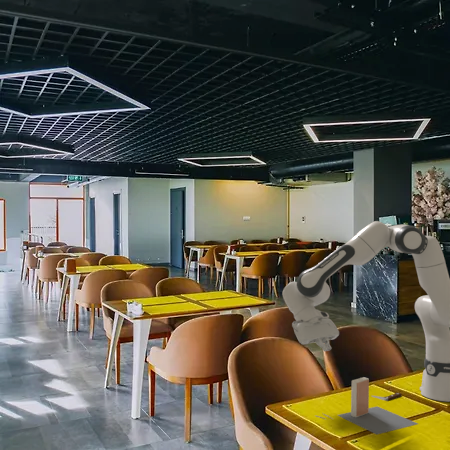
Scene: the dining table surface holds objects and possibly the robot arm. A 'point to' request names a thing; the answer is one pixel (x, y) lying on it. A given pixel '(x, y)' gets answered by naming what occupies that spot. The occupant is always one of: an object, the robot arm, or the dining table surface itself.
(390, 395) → the kitchen cleaver
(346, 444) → the dining table surface
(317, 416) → the tweezers
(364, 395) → the tile
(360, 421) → the mat
